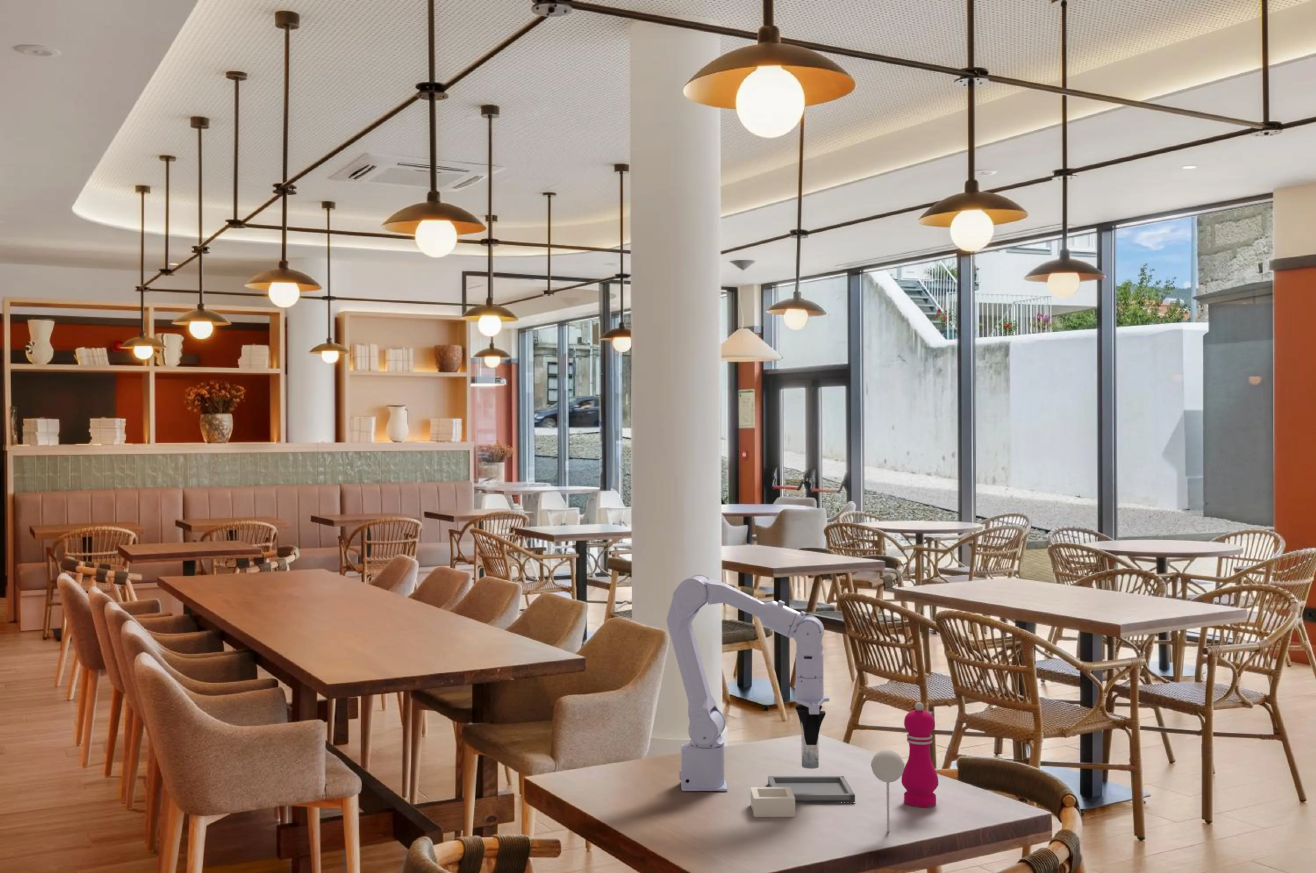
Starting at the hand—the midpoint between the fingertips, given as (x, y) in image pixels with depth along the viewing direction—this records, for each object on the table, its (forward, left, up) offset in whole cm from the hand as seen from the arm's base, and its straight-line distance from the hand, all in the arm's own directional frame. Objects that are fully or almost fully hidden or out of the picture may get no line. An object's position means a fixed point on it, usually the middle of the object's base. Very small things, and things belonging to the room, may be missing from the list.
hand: (809, 742), depth 235 cm
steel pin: (0, 0, -5) cm, 5 cm away
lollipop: (+11, -25, -11) cm, 29 cm away
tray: (0, 0, -10) cm, 10 cm away
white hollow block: (-9, -12, -10) cm, 18 cm away
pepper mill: (+21, -7, -11) cm, 25 cm away
